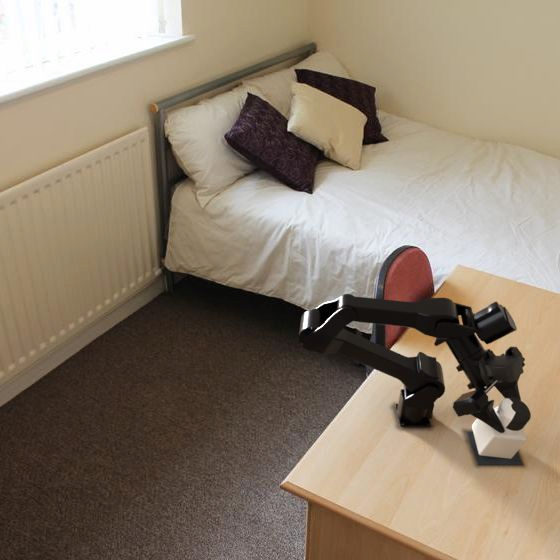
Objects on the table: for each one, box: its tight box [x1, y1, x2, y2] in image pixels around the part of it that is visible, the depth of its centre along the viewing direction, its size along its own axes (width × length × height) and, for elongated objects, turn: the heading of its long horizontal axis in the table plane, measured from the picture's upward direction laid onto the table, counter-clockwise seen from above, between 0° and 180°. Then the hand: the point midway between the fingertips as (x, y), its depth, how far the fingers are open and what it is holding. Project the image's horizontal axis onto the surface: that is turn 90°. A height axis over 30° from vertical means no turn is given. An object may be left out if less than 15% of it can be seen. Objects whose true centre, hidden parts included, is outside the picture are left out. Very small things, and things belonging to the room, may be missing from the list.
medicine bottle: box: [471, 397, 532, 459], centre depth 140 cm, size 7×7×12 cm
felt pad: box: [466, 431, 524, 466], centre depth 144 cm, size 9×9×1 cm
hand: (512, 421), depth 139 cm, fingers closed on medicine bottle, 7 cm apart
